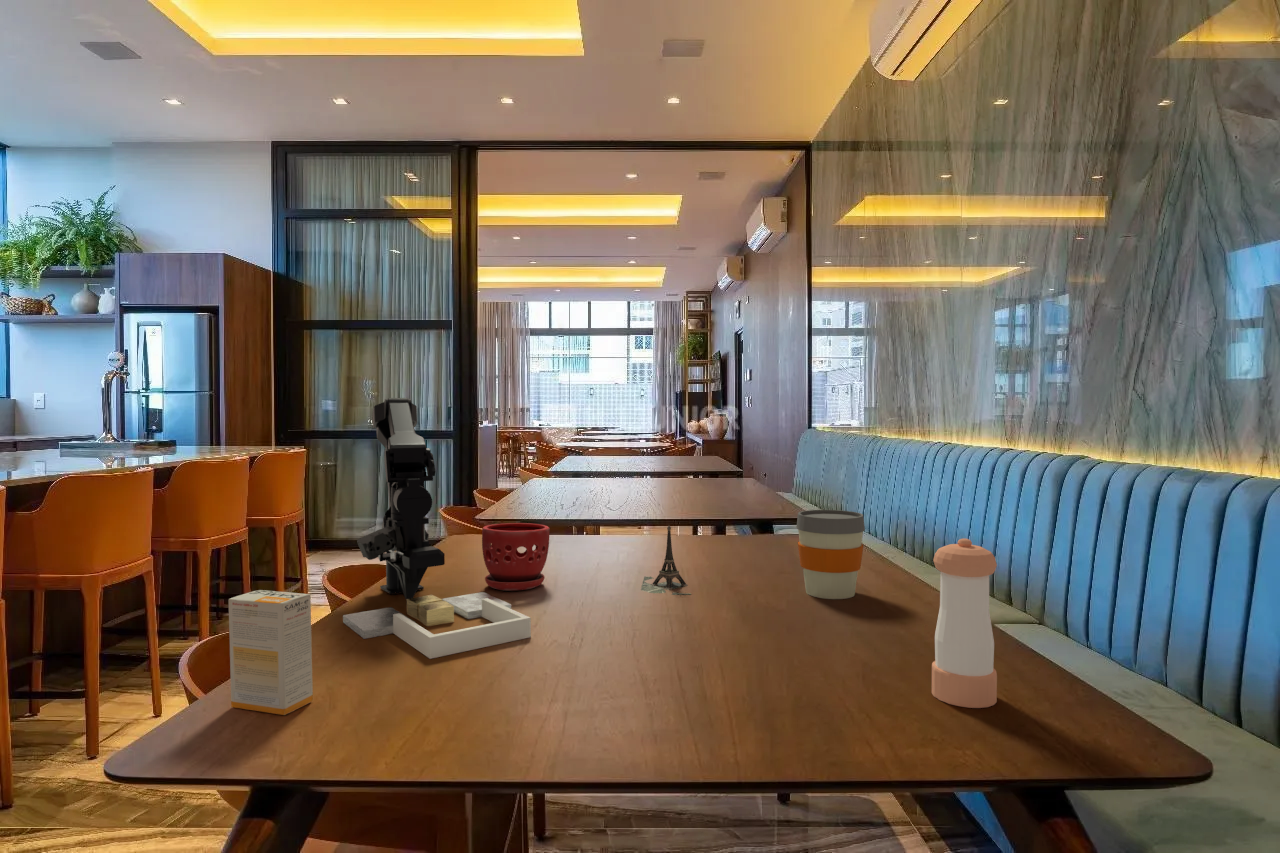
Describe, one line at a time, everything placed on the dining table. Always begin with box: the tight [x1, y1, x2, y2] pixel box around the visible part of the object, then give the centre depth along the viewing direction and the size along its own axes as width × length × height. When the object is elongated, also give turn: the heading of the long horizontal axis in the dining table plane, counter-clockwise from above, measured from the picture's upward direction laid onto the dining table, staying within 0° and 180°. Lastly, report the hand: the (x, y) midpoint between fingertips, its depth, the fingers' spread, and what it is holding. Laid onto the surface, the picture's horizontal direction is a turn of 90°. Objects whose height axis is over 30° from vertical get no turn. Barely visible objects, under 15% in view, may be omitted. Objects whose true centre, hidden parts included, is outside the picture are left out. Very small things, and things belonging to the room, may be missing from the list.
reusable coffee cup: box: [795, 509, 866, 600], centre depth 140 cm, size 12×13×15 cm
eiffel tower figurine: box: [640, 525, 692, 595], centre depth 147 cm, size 15×10×13 cm
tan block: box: [406, 594, 443, 621], centre depth 127 cm, size 4×4×3 cm
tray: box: [392, 598, 532, 660], centre depth 115 cm, size 15×16×3 cm
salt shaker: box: [931, 538, 998, 709], centre depth 90 cm, size 7×7×19 cm
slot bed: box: [342, 591, 512, 639], centre depth 125 cm, size 11×25×1 cm, turn 127°
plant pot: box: [481, 522, 550, 592], centre depth 147 cm, size 13×13×12 cm
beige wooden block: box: [418, 601, 455, 627], centre depth 123 cm, size 4×4×3 cm
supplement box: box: [228, 589, 314, 716], centre depth 88 cm, size 8×5×13 cm, turn 71°
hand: (409, 599), depth 133 cm, fingers closed
